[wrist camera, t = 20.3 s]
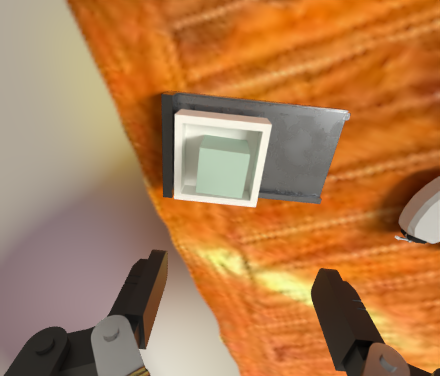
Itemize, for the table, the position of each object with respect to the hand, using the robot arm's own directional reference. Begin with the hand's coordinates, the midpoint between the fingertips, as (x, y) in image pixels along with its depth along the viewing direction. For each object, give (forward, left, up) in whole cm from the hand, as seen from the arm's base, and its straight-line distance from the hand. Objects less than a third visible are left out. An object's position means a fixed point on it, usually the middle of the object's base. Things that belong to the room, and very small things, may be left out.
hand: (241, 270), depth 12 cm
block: (0, -1, -18) cm, 18 cm away
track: (0, +2, -22) cm, 22 cm away
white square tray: (0, -2, -21) cm, 21 cm away
